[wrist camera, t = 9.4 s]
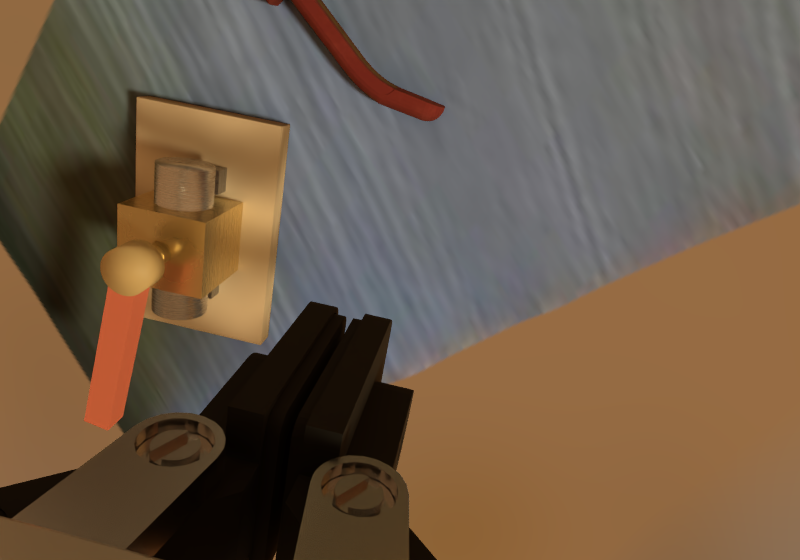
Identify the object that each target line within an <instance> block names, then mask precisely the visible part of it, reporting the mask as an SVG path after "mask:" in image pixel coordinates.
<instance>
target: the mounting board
mask: <svg viewBox="0 0 800 560" xmlns="http://www.w3.org/2000/svg"><path fill="white" fill-rule="evenodd" d="M289 130H290V124H285V123H280V122H275V121H270V120H266V119H261V118H256V117H251V116H246V115H241V114H236V113H231V112H226V111H221V110H216V109H211V108H207V107H202V106H197V105H192V104H187V103H182V102H177V101H172V100H167V99H162V98H157V97H152V96H143V97H137V115H136V196H139V195H142V194H144V193H147V192H150V191H152V190H154V171H155V160H156V159H159V158H165V157H182V158H192V159H198V160H202V161H206V162H209V163H211V164H213V165H216V166H220V167H225V168H227V178H226V191H225V192H223V193H221V194H219V195H216V194H214V196H217V197H222V198H226V199H231V200H235V201H240V202H243V212H242V224H241V237H240V249H239V262H238V270H237V271H236V272H235V273H234V274H232V275H231V276H230V277H229V278H227V279H226V280H225V281H224V282H222V283H221V284H220V285H219V293H218V294H217V295H216V296H214V297H213V298H212V299H209V298H208V306H207V312H206V313H205V314H204V315H202V316H201V317H198V318H195V319H190V320H171V319H166V318H162V317H159V316H157V315H156V314H154V313H153V312H152V309H151V299H152V288H151V287H150V289H149V293H148V298H147V303H146V308H145V313H144V317H145V318H149V319H153V320H157V321H162V322H166V323H170V324H174V325H178V326H183V327H187V328H191V329H195V330H200V331H204V332H208V333H212V334H216V335H221V336H225V337H229V338H233V339H238V340H242V341H246V342H250V343H255V344H259V345H261V344H262V343H263V342H264V340H265V339H266V338H267V337H268V331H269V321H270V312H271V302H272V293H273V283H274V273H275V264H276V254H277V245H278V235H279V225H280V216H281V206H282V197H283V187H284V177H285V168H286V158H287V149H288V139H289Z"/></svg>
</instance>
